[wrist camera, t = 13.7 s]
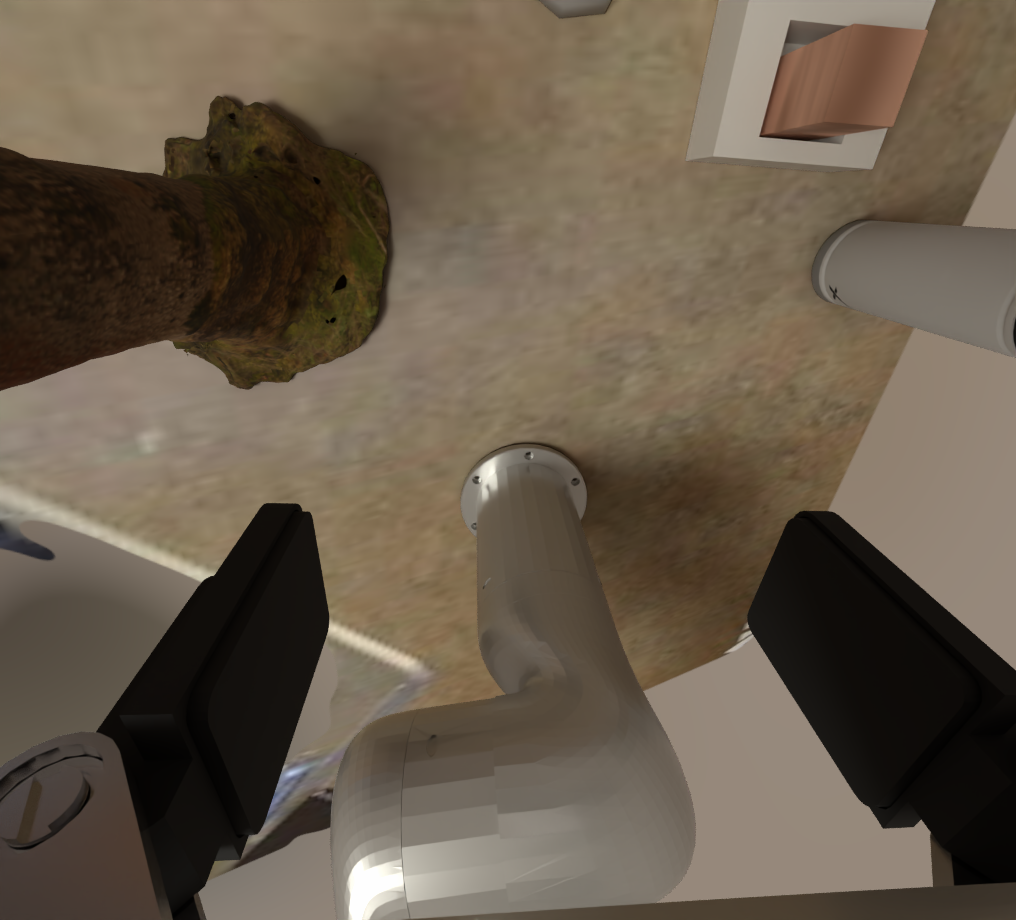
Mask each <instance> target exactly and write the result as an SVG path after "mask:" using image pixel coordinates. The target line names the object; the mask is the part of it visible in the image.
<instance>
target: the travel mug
mask: <svg viewBox="0 0 1016 920" xmlns="http://www.w3.org/2000/svg"><path fill="white" fill-rule="evenodd" d="M812 284H813V288H814V290H815V291H816V293H817V295H818V296H819V297H820V298H822V299H823V300H825V301H827V302H831V303H834V304H837V305H841V306H844V307H847V308H851V309H854V310H857V311H861V312H864V313H867V314H871V315H874V316H877V317H881V318H884V319H887V320H891V321H894V322H897V323H901V324H904V325H907V326H911V327H914V328H918V329H921V330H924V331H927V332H931V333H934V334H938V335H941V336H944V337H947V338H951V339H954V340H957V341H961V342H964V343H967V344H971V345H974V346H977V347H981V348H984V349H987V350H991V351H994V352H998V353H1001V354H1004V355H1007V356H1011V357H1015V358H1016V229H1000V228H985V227H967V226H953V225H937V224H921V223H905V222H889V221H873V220H860V221H855V222H852V223H849V224H847V225H845V226H843V227H842V228H840V229H838V230H837V231H836V232H835V233H834V234H832V235H831V236H830V237H829V238H828V239H827V240H826V242H825V243H824V244H823V246H822V247H821V248H820V250H819V252H818V254H817V256H816V258H815V261H814V264H813V268H812Z"/></svg>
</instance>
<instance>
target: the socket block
mask: <svg viewBox="0 0 1016 920" xmlns="http://www.w3.org/2000/svg"><path fill="white" fill-rule="evenodd" d="M935 1H936V0H719V2H718V6H717V11H716V16H715V21H714V26H713V30H712V35H711V40H710V45H709V50H708V54H707V59H706V64H705V69H704V74H703V79H702V83H701V88H700V93H699V98H698V103H697V107H696V112H695V117H694V122H693V127H692V131H691V136H690V141H689V146H688V151H687V155H686V160H685V161H695V162H707V163H720V164H732V165H744V166H757V167H769V168H781V169H794V170H806V171H818V172H840V171H855V170H870V169H873V166H874V164H875V161H876V158H877V156H878V153H879V150H880V148H881V145H882V142H883V140H884V137H885V134H886V132H887V129H888V128H883V129H877V130H871V131H865V132H859V133H852V134H846V135H840V136H834V137H828V138H822V139H816V140H810V141H798V140H787V139H775V138H763V137H759V135H760V132H761V128H762V124H763V120H764V117H765V113H766V109H767V105H768V102H769V98H770V94H771V90H772V87H773V83H774V79H775V75H776V72H777V68H778V64H779V60H780V57H781V56H783V55H786V54H788V53H790V52H792V51H795V50H797V49H799V48H801V47H803V46H806V45H808V44H810V43H812V42H814V41H817V40H819V39H821V38H823V37H826V36H828V35H830V34H832V33H834V32H837V31H839V30H841V29H843V28H846V27H848V26H850V25H852V24H864V25H875V26H886V27H897V28H908V29H919V30H925V28H926V25H927V22H928V20H929V17H930V14H931V12H932V9H933V6H934V4H935Z"/></svg>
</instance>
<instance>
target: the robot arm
mask: <svg viewBox="0 0 1016 920" xmlns="http://www.w3.org/2000/svg"><path fill="white" fill-rule="evenodd" d="M527 452H530V453H527ZM475 476H479V477H475ZM574 478H575V479H574ZM586 506H587V491H586V485H585V482H584V480H583V477H582V475H581V473H580V471H579V470H578V468H577V466H576V465H575V464H574V463H573V462H572V461H571V460H570V459H569V458H568V457H566V456H565V455H563V454H562V453H561V452H558V451H556V450H554V449H552V448H549V447H545V446H541V445H535V444H519V445H512V446H508V447H504V448H501V449H499V450H497V451H494V452H492V453H490V454H489V455H487V456H486V457H484V458H483V459H481V460H480V461H479V462H478V463H477V464H476V465H475V466H474V467H473V468H472V469H471V471H470V472H469V474H468V476H467V477H466V479H465V482H464V484H463V487H462V492H461V512H462V517H463V519H464V522H465V524H466V526H467V527H468V529H469V530H470V531H471V533H472V534H473V535H474V536H475V537H476V538H477V623H478V643H479V647H480V651H481V655H482V658H483V661H484V663H485V665H486V667H487V669H488V671H489V673H490V674H491V676H492V677H493V679H494V680H495V682H496V683H497V684H498V686H499V687H500V688H501V689H502V691H503V692H504V693H505V694H506V695H501V696H496V697H495V698H491V699H484V700H477V701H470V702H463V703H456V704H450V705H443V706H436V707H429V708H422V709H416V710H410V711H405V712H400V713H395V714H391V715H388V716H384V717H382V718H380V719H377V720H375V721H373V722H372V723H370V724H368V725H367V726H366V727H364V728H363V729H362V730H361V731H360V732H359V733H358V734H357V735H356V736H355V737H354V738H353V740H352V741H351V743H350V744H349V746H348V748H347V749H346V751H345V754H344V756H343V758H342V761H341V763H340V766H339V769H338V773H337V777H336V781H335V786H334V792H333V800H332V808H331V832H330V848H331V868H332V881H333V891H334V902H335V912H336V920H1016V670H1015V669H1013V668H1012V667H1011V666H1010V665H1009V664H1008V663H1007V662H1005V661H1004V660H1003V659H1002V658H1001V657H1000V656H999V655H997V654H996V653H995V652H994V651H993V650H992V649H990V647H988V646H987V645H986V644H985V643H984V642H982V641H981V640H980V639H979V638H978V637H977V636H976V635H975V634H973V633H972V632H971V631H970V630H969V629H968V628H967V627H966V626H964V625H963V624H962V623H961V622H960V621H959V620H958V619H956V618H955V617H954V616H953V615H952V614H951V613H950V612H948V611H947V610H946V609H945V608H944V607H943V606H941V605H940V604H939V603H938V602H937V601H936V600H935V599H934V598H932V597H931V596H930V595H929V594H928V593H926V591H924V590H923V589H922V588H921V587H920V586H919V585H918V584H916V583H915V582H914V581H913V580H912V579H911V578H910V577H908V576H907V575H906V574H905V573H904V572H903V571H902V570H900V569H899V568H898V567H897V566H896V565H895V564H894V563H892V562H891V561H890V560H889V559H888V558H887V557H886V556H884V555H883V554H882V553H881V552H880V551H879V550H878V549H876V548H875V547H874V546H873V545H872V544H871V543H870V542H868V541H867V540H866V539H865V538H864V537H863V536H862V535H860V534H859V533H858V532H857V531H856V530H855V529H853V527H851V526H850V525H849V524H848V523H847V522H845V520H843V519H842V518H841V517H840V516H839V515H837V514H836V513H834V512H829V511H802V512H799V513H798V514H796V515H795V517H794V518H792V519H790V520H789V521H788V523H787V524H786V526H785V529H784V531H783V533H782V536H781V538H780V540H779V542H778V545H777V547H776V549H775V552H774V554H773V556H772V559H771V561H770V563H769V565H768V568H767V570H766V572H765V575H764V577H763V579H762V581H761V584H760V586H759V588H758V591H757V593H756V595H755V598H754V600H753V602H752V604H751V607H750V609H749V612H748V617H747V619H748V625H749V628H750V630H751V632H752V634H753V635H754V637H755V638H756V640H757V641H758V643H759V645H760V646H761V648H762V649H763V651H764V652H765V654H766V655H767V657H768V659H769V660H770V662H771V663H772V665H773V667H774V668H775V670H776V671H777V673H778V674H779V676H780V678H781V679H782V680H783V682H784V684H785V685H786V687H787V689H788V690H789V692H790V693H791V694H792V696H793V698H794V699H795V701H796V702H797V704H798V706H799V707H800V709H801V710H802V712H803V714H804V715H805V717H806V718H807V720H808V721H809V723H810V725H811V726H812V728H813V729H814V731H815V732H816V734H817V736H818V737H819V739H820V740H821V742H822V743H823V745H824V747H825V748H826V750H827V751H828V753H829V754H830V756H831V757H832V759H833V761H834V762H835V764H836V765H837V767H838V768H839V770H840V772H841V773H842V775H843V776H844V778H845V779H846V781H847V783H848V784H849V786H850V787H851V789H852V790H853V792H854V794H855V795H856V796H857V797H858V799H859V800H860V801H861V802H863V804H865V805H867V806H869V807H870V809H871V811H872V812H873V814H874V815H875V817H876V818H877V820H878V821H879V823H880V824H881V826H882V828H902V827H903V828H904V827H914V826H915V825H916V824H917V823H918V822H919V821H920V820H921V819H922V821H923V822H924V823H925V825H926V826H927V828H928V829H929V830H930V831H931V834H930V841H931V858H932V875H933V887H922V888H904V889H886V890H868V891H849V892H832V893H815V894H800V895H781V896H764V897H748V898H731V899H715V900H698V901H682V902H666V903H656V902H657V901H659V900H661V899H662V898H664V897H665V896H666V895H667V894H669V893H670V892H671V891H672V890H673V889H674V888H675V887H676V886H677V885H678V884H679V883H680V882H681V880H682V879H683V877H684V876H685V874H686V873H687V870H688V868H689V866H690V863H691V860H692V856H693V852H694V847H695V836H696V834H695V833H696V831H695V830H696V829H695V828H696V827H695V826H696V823H695V814H694V808H693V803H692V799H691V794H690V791H689V788H688V784H687V781H686V779H685V776H684V773H683V770H682V767H681V764H680V762H679V760H678V757H677V755H676V753H675V751H674V749H673V747H672V745H671V743H670V740H669V738H668V736H667V734H666V732H665V731H664V729H663V727H662V725H661V723H660V721H659V720H658V718H657V716H656V714H655V712H654V711H653V709H652V707H651V705H650V704H649V701H648V700H647V698H646V696H645V694H644V692H643V690H642V688H641V686H640V684H639V682H638V680H637V678H636V676H635V674H634V672H633V670H632V667H631V665H630V663H629V661H628V658H627V656H626V653H625V651H624V649H623V646H622V643H621V641H620V638H619V635H618V632H617V629H616V627H615V624H614V621H613V618H612V615H611V612H610V609H609V606H608V603H607V600H606V597H605V594H604V591H603V587H602V584H601V582H600V579H599V576H598V573H597V570H596V567H595V564H594V561H593V557H592V554H591V551H590V548H589V545H588V542H587V539H586V536H585V533H584V530H583V527H582V524H581V519H582V517H583V515H584V512H585V509H586ZM328 628H329V611H328V605H327V599H326V594H325V588H324V582H323V576H322V570H321V565H320V559H319V553H318V547H317V541H316V536H315V530H314V524H313V518H312V515H311V513H310V512H302V508H301V506H300V505H299V504H288V503H266V504H264V505H263V506H262V507H261V508H260V509H259V511H258V512H257V514H256V515H255V517H254V518H253V520H252V521H251V523H250V524H249V525H248V527H247V528H246V530H245V531H244V533H243V534H242V536H241V537H240V539H239V540H238V542H237V543H236V545H235V546H234V547H233V549H232V550H231V552H230V553H229V555H228V556H227V558H226V559H225V561H224V562H223V564H222V565H221V567H220V568H219V569H218V571H217V572H216V574H215V575H214V576H210V577H208V578H206V579H205V580H204V581H203V582H202V583H201V584H200V585H199V586H198V588H197V589H196V591H195V592H194V594H193V595H192V596H191V598H190V599H189V600H188V602H187V603H186V605H185V606H184V608H183V609H182V611H181V612H180V613H179V615H178V616H177V618H176V619H175V620H174V622H173V623H172V625H171V626H170V628H169V629H168V630H167V632H166V633H165V635H164V636H163V638H162V639H161V640H160V642H159V643H158V645H157V646H156V647H155V649H154V650H153V652H152V653H151V655H150V656H149V657H148V659H147V660H146V662H145V663H144V664H143V666H142V668H141V669H140V670H139V672H138V673H137V674H136V676H135V677H134V679H133V680H132V682H131V683H130V685H129V686H128V687H127V689H126V690H125V692H124V693H123V694H122V696H121V697H120V699H119V700H118V701H117V703H116V704H115V706H114V707H113V709H112V710H111V711H110V713H109V714H108V716H107V717H106V719H105V720H104V721H103V723H102V724H101V726H100V727H99V728H98V730H97V731H96V732H77V733H71V734H67V735H62V736H58V737H55V738H53V739H51V740H48V741H45V742H43V743H41V744H38V745H36V746H33V747H31V748H30V749H28V750H26V751H25V752H23V753H21V754H20V755H18V756H16V757H15V758H13V759H11V760H10V761H8V762H7V763H5V764H4V765H3V766H2V767H0V920H206V917H205V913H204V910H203V907H202V904H201V900H200V897H199V894H198V892H199V891H200V890H201V889H202V888H203V887H204V886H205V884H206V882H207V879H208V877H209V874H210V872H211V869H212V866H213V864H214V861H222V860H240V859H241V856H242V853H243V850H244V847H245V844H246V842H247V839H248V836H249V835H255V834H258V833H259V832H260V830H261V828H262V826H263V824H264V822H265V819H266V817H267V814H268V811H269V808H270V805H271V802H272V799H273V796H274V793H275V790H276V787H277V784H278V781H279V777H280V774H281V771H282V768H283V765H284V762H285V759H286V756H287V753H288V750H289V747H290V744H291V741H292V738H293V735H294V732H295V729H296V726H297V723H298V720H299V717H300V714H301V711H302V708H303V705H304V702H305V699H306V696H307V693H308V690H309V687H310V684H311V681H312V678H313V675H314V672H315V669H316V666H317V663H318V660H319V657H320V654H321V651H322V648H323V645H324V642H325V639H326V636H327V633H328Z"/></svg>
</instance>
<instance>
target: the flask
mask: <svg viewBox="0 0 1016 920" xmlns="http://www.w3.org/2000/svg"><path fill="white" fill-rule="evenodd" d="M539 1H540V2H541V3H543V4H544V5H545V6H546V7H547V8H548V9H549V10H551V11H552V12H553V13H554V14H555V15H556V16H557V17H559V18H565V17H575V16H584V15H594V14H603V13H605V11H606V9H607V8H608V6H609V4H610V2H611V0H539Z"/></svg>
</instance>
